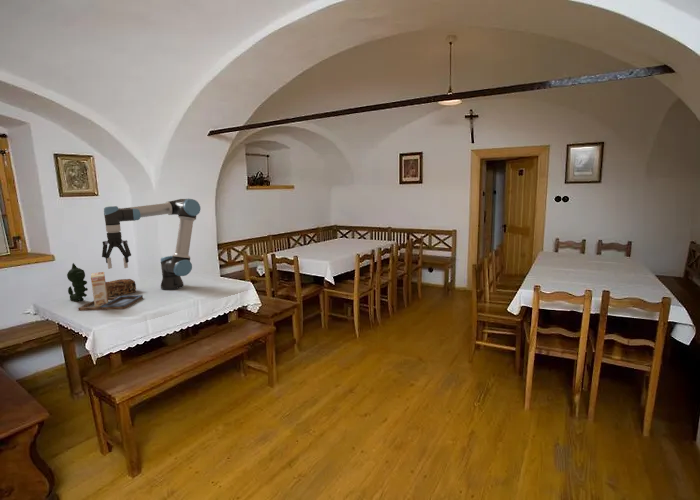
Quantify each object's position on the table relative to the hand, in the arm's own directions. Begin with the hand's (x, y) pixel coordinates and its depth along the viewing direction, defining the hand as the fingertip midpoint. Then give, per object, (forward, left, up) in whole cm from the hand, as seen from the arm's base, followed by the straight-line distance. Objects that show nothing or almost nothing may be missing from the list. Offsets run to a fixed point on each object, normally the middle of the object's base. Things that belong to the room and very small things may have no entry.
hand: (118, 268), depth 235 cm
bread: (+15, -25, -23) cm, 37 cm away
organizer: (+6, 0, -23) cm, 24 cm away
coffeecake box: (+13, 0, -23) cm, 27 cm away
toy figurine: (+35, -11, -23) cm, 43 cm away
